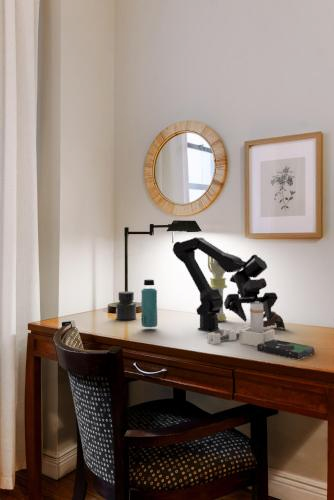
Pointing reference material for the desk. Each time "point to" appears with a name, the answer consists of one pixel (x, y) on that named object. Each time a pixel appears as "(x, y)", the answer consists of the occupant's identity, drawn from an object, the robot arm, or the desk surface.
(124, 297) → the ink bottle
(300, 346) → the disk drive
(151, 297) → the beverage bottle
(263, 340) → the end holder
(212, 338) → the cable
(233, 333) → the cable clips
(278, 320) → the dark brown curved piece
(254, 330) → the white squeeze bottle
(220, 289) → the trophy
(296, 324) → the desk surface
